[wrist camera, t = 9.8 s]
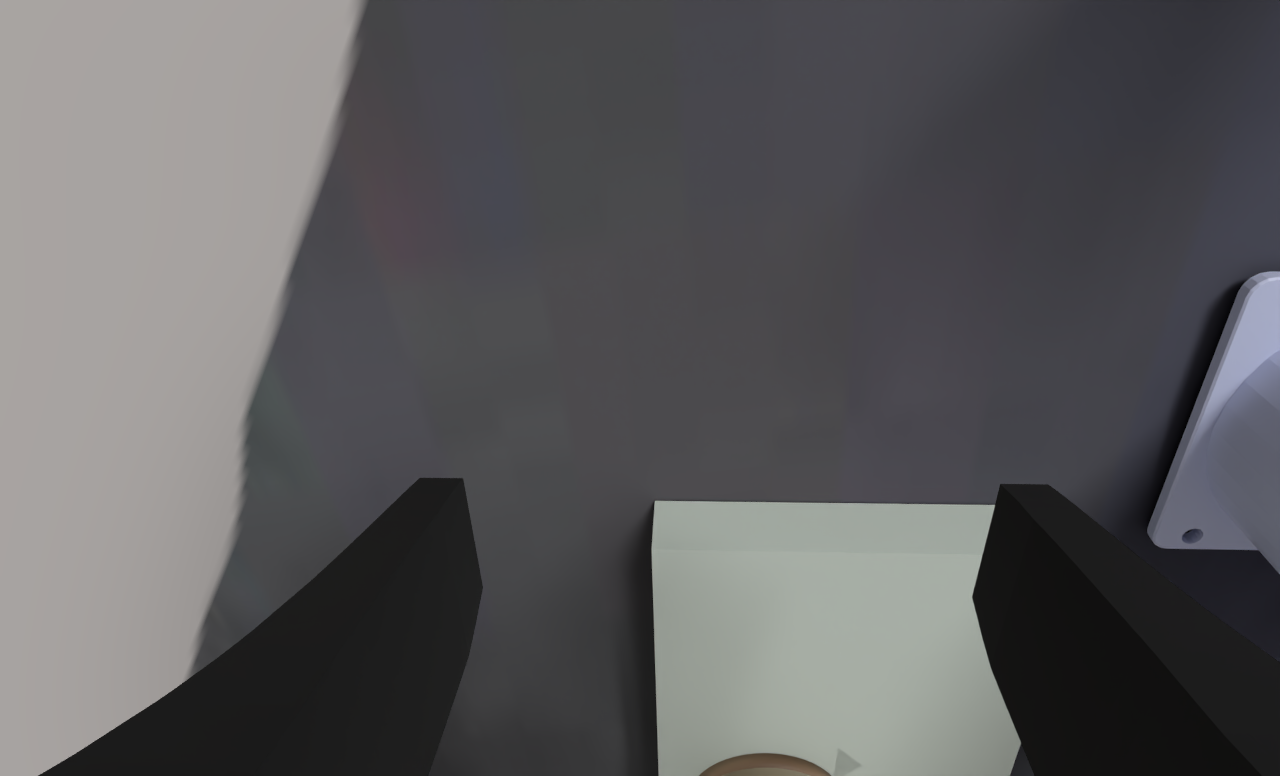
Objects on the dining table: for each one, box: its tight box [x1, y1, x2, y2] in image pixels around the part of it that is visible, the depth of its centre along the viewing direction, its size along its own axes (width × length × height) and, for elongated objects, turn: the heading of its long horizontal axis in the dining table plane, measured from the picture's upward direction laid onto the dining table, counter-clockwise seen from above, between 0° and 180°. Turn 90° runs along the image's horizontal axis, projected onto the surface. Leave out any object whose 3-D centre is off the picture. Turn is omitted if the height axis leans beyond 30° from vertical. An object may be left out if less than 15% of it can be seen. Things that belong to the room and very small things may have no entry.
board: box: [652, 501, 1021, 776], centre depth 26 cm, size 11×18×2 cm, turn 1°
